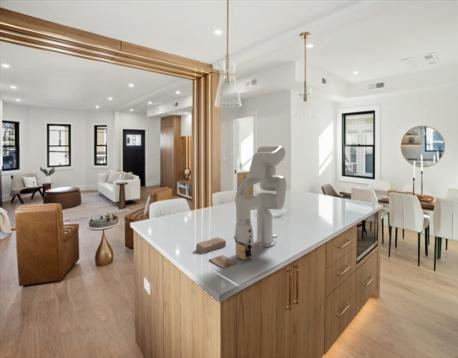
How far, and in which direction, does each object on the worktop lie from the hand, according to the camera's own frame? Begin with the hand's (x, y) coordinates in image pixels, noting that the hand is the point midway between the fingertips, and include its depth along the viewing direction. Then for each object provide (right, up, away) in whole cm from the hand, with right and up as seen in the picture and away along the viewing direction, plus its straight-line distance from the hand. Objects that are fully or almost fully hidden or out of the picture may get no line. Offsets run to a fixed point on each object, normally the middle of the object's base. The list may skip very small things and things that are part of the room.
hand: (243, 254), depth 136 cm
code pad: (0, -2, 0) cm, 3 cm away
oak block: (0, -1, 0) cm, 1 cm away
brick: (-18, -2, +15) cm, 24 cm away
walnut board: (-11, -3, -5) cm, 13 cm away
